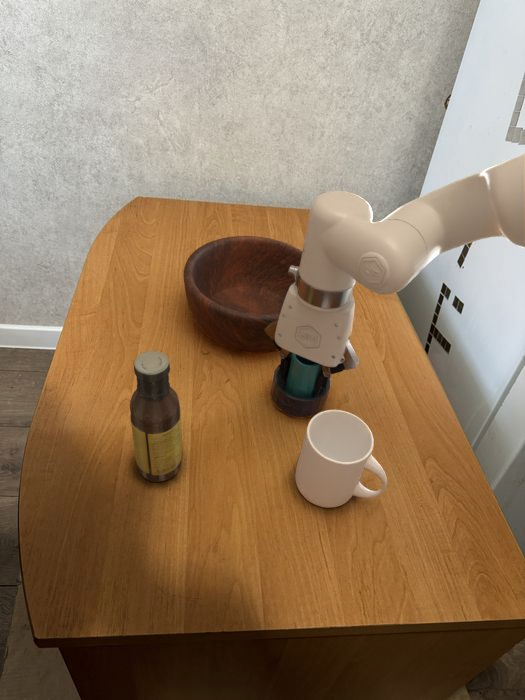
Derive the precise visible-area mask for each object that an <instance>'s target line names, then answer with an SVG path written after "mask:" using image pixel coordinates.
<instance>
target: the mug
mask: <svg viewBox="0 0 525 700" xmlns="http://www.w3.org/2000/svg"><path fill="white" fill-rule="evenodd" d="M374 444H375V439H374V436H373V433H372V431H371V428H370V427H369V426H368V424H367V423H366V422H365V421H364V420H363V419H361V418H360V417H359V416H357V415H355V414H353V413H351V412H348V411H345V410H341V409H327V410H324V411H323V410H322V411H320V412H319V413H317V414H315V415H313V416H312V418H311V419H310V420H309V422H308V424H307V427H306V430H305V434H304V437H303V442H302V446H301V449H300V452H299V457H298V461H297V464H296V467H295V472H294V474H295V475H294V479H295V480H294V481H295V484H296V487H297V490H298V491H299V493H300V494H301V495H302V496H303V497H304V498H305V500H307V501H308V502H309V503H311V504H313V505H315V506H317V507H321V508H337V507H340V506H342V505H345V504H346V503H347V502H348V501H350V500H351V498H352V497H353V496H354V497H357V498H361V499H374V498H377V497H379V496H381V495H382V494H383V493H384V491H386V489H387V486H388V478H387V473H386V472H385V470H384V468H383V467H382V465H381V464H380V463H379V462H378V460H377V459H376V458H375V457H374V456H373V455H372V452H373V450H374V446H375V445H374ZM365 470H367V471H369V472H371V473H372V474H374V475H375V476H376V477H378V478H379V480H380V481H381V483H382V487H381V488H380V489H379V490H371V489H369V488H367V487H365V486H364V485H363V484H362V483H361V478H362V476H363V474H364V471H365Z"/></svg>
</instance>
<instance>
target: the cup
mask: <svg viewBox="0 0 525 700" xmlns="http://www.w3.org/2000/svg"><path fill="white" fill-rule="evenodd" d="M321 370H322V365H321V364H319V363H316V362H314V361H311V360H309V359H306V358H304V357H302V356H299V355H297V354H294V353H292V355H291V360H290V365H289V370H288V375H287V380H286V385H285V392H287V393H288V394H290V395H293V396H295V397H299V398H314V397H315V396H316V393H315V387H316V383H317V379H318V376H319V374H320V372H321Z"/></svg>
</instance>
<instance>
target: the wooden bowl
mask: <svg viewBox="0 0 525 700" xmlns="http://www.w3.org/2000/svg"><path fill="white" fill-rule="evenodd" d="M302 251H303V249H300V248H298V247H296V246H294V245H292V244H290V243H287V242H284V241H282V240H278V239H274V238H269V237H264V236H258V235H257V236H256V235H234V236H233V235H232V236H227V237H222V238H218V239H214V240H212V241H209V242H207V243H205V244H203V245H201V246H199V247H198V248H196V249H195V250H194V251H193V252H192V253H191V254H190V255H189V256H188V258H187V260H186V262H185V264H184V268H183V284H184V290H185V291H184V292H185V297H186V301H187V306H188V308H189V311H190V314H191V316H192V318H193V319H194V321H195V323H196V325H197V326H198V327H199V329H200V330H201V331H202V332H203V333H204V334H205V336H207V337H208V338H209V339H210V340H212V341H214V342H215V343H217V344H219V345H220V346H223V347H226V348H228V349H231V350H234V351H238V352H243V353H251V354H259V353H261V354H262V353H263V354H264V353H269V352H271V353H272V352H276V351H278V349H277V348H276V346H275V345H274V343H273V340H272V339H271V338H270V337H269V336H268V334H267V333H266V332H265V328H266V327H267V325H268V324H269V323H271V322H273V321H275V320H277V319H279V316H280V313H281V309H282V306H283V303H284V300H285V297H286V295H287V292H288V290H289V288H290V286H291V285H292V284H293V283H294V282H295V278H294V277H293V276H291V275H289V274H288V271H289V268H290V266H291V265H293V266H295V267H296V266H298V267H299V266H300V262H301V256H302Z"/></svg>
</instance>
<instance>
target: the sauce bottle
mask: <svg viewBox="0 0 525 700" xmlns="http://www.w3.org/2000/svg"><path fill="white" fill-rule="evenodd" d="M133 371H134V372H133V373H134V375H135V378H136V389H135V390H134V391H133V392H132V395H131V396H130V401H129V411H130V425H131V426H130V427H131V433H132V441H133V449H134V456H135V457H134V458H135V462H136V465H137V470H138V473H139V474H140V475H141V476H142V477H143V478H145V479H146V480H147V481H150V482H154V483H158V482H164V481H168V480H170V479H172V478H173V477H175V476H176V474H177V473H178V472H179V471H180V469H181V466H182V458H183V439H182V414H181V413H182V411H181V404H180V397H179V396H178V393H177V392H176V391H175V389H174V388H173V387H172V386H171V383H170V376H169V375H170V372H171V363H170V359H169V357H168V356H167V355H166V354H164V353H163V352H161V351H159V350H158V351H157V350H148V351H145V352H144V351H143V352H141V353H140V354H138V355H137V356H136V357H135V359H134V361H133Z"/></svg>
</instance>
